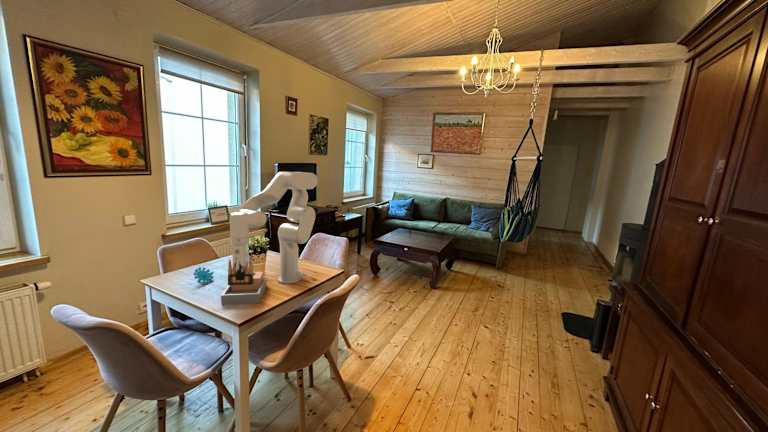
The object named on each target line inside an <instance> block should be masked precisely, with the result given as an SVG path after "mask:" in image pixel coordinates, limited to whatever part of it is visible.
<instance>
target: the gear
mask: <svg viewBox="0 0 768 432" xmlns="http://www.w3.org/2000/svg"><path fill="white" fill-rule="evenodd" d="M206 269H207V268H206V267H200V266H199V267H198V268H196V269H194V273H193V276H194V280H196V279H197V282H198V283H200V282H201V281H202V282H201V284H203V285H205V284H207V285H208V284H210V283H212V282H213V281H214V280H213V279H214V277H215V276H214V273H215V271H211V270H210V269H207V270H206Z"/></svg>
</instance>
